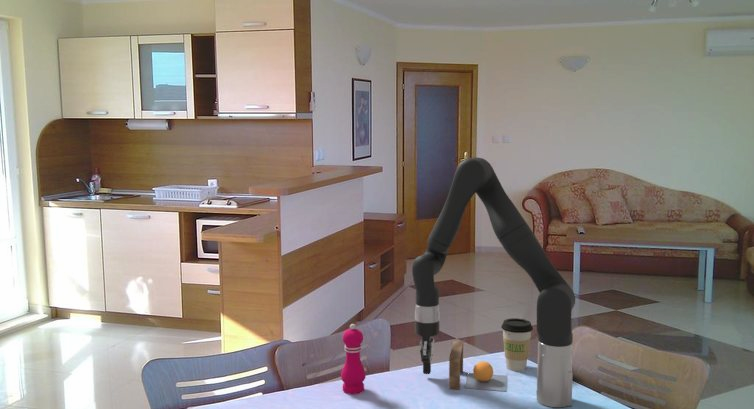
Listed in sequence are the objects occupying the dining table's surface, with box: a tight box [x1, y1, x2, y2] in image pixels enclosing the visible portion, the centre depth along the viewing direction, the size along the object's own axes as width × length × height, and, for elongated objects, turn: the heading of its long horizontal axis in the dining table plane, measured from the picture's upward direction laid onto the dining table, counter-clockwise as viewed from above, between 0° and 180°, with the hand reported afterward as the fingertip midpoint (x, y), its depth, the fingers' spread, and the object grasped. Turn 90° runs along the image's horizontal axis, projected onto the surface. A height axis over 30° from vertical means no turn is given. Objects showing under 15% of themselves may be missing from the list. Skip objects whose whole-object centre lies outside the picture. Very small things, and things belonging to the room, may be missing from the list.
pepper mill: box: [340, 323, 367, 395], centre depth 184 cm, size 7×7×20 cm
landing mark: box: [464, 372, 507, 392], centre depth 190 cm, size 12×12×1 cm
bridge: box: [448, 340, 464, 391], centre depth 191 cm, size 3×15×10 cm, turn 168°
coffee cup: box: [501, 317, 533, 372], centre depth 201 cm, size 10×10×15 cm
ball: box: [472, 360, 494, 382], centre depth 191 cm, size 6×6×6 cm
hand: (426, 373), depth 194 cm, fingers closed
